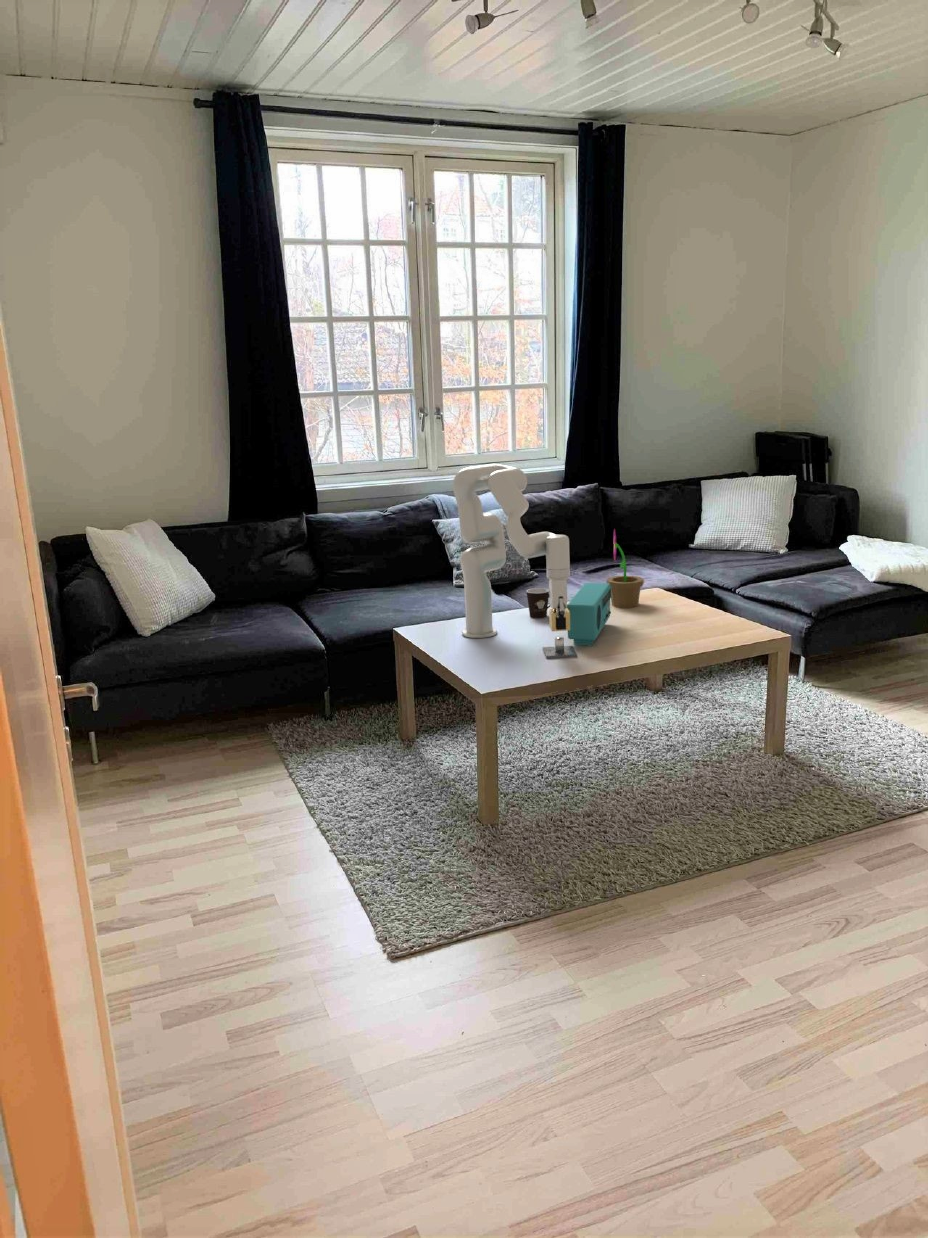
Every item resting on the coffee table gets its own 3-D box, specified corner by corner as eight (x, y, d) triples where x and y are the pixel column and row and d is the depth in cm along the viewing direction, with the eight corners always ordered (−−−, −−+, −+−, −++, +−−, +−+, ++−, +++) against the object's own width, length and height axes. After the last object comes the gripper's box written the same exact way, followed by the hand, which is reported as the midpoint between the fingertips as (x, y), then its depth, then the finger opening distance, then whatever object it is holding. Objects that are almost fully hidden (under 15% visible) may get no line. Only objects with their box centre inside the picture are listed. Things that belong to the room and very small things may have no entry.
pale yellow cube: (549, 626, 316) (549, 609, 315) (567, 625, 316) (567, 608, 315) (551, 631, 310) (551, 613, 309) (570, 630, 310) (569, 612, 309)
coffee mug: (525, 618, 360) (524, 593, 358) (528, 613, 368) (528, 588, 366) (555, 619, 358) (555, 593, 355) (558, 613, 366) (558, 588, 363)
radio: (597, 649, 319) (597, 605, 315) (566, 647, 322) (566, 604, 318) (613, 622, 350) (613, 582, 347) (585, 621, 354) (584, 582, 350)
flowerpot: (605, 600, 382) (605, 526, 374) (642, 600, 381) (642, 525, 373) (607, 609, 368) (607, 533, 361) (645, 609, 367) (645, 532, 359)
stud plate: (542, 650, 320) (542, 634, 319) (572, 648, 321) (572, 633, 319) (546, 658, 311) (546, 642, 309) (576, 657, 311) (576, 641, 310)
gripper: (543, 568, 317) (545, 621, 321) (550, 579, 300) (551, 634, 305) (566, 567, 317) (567, 619, 322) (573, 577, 300) (575, 632, 305)
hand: (559, 626), depth 313 cm, fingers closed on pale yellow cube, 6 cm apart
